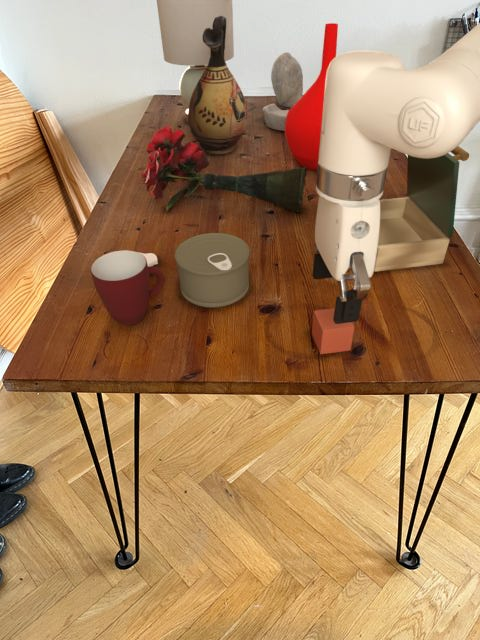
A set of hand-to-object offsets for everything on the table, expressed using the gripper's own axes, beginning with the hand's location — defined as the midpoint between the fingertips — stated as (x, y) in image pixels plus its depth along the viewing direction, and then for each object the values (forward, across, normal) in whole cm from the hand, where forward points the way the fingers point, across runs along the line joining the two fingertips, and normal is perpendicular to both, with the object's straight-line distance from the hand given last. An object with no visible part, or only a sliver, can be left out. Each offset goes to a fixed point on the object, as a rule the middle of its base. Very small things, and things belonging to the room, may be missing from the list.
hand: (333, 298), depth 65 cm
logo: (+8, +25, +28) cm, 38 cm away
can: (+8, +17, +15) cm, 24 cm away
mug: (+8, +12, +28) cm, 31 cm away
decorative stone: (+9, +112, -20) cm, 114 cm away
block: (+8, 0, 0) cm, 8 cm away
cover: (-4, +24, -24) cm, 34 cm away
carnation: (+9, +48, +9) cm, 49 cm away
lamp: (+9, +104, +8) cm, 104 cm away
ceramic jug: (+9, +80, +6) cm, 80 cm away
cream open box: (+8, +24, -19) cm, 32 cm away
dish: (+9, +92, -16) cm, 94 cm away
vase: (+9, +63, -17) cm, 66 cm away
